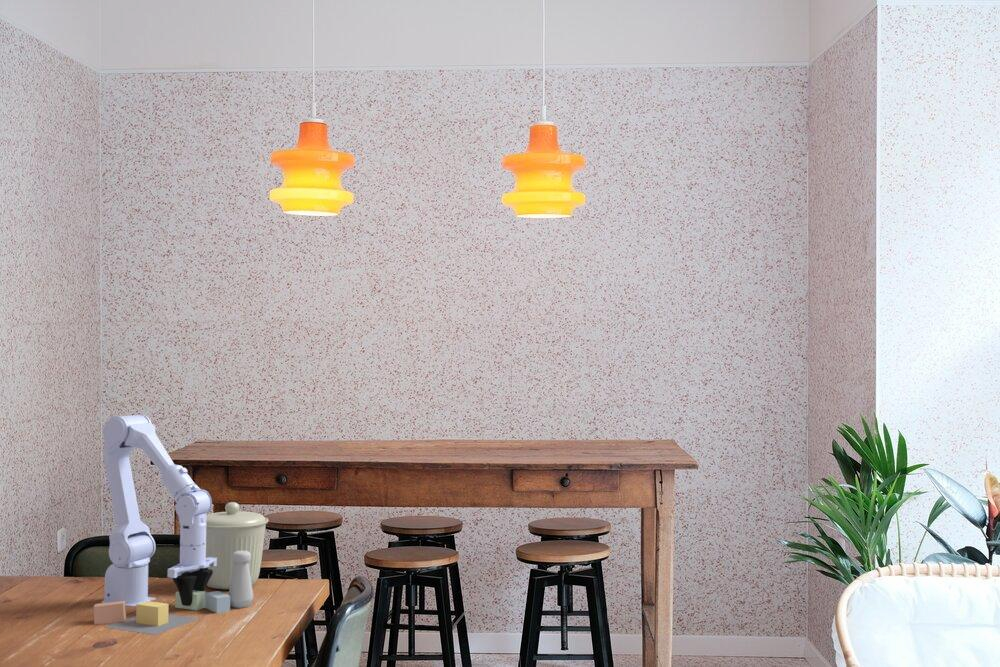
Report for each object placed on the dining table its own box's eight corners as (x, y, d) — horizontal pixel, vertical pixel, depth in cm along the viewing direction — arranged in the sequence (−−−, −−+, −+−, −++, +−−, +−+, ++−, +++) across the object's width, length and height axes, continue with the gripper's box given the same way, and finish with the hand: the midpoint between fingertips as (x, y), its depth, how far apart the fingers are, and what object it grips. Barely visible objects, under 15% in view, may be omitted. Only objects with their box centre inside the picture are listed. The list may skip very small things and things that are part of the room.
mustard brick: (136, 622, 215) (136, 604, 215) (146, 619, 218) (147, 600, 218) (157, 626, 213) (158, 607, 213) (168, 622, 216) (168, 603, 216)
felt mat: (103, 629, 212) (103, 626, 212) (149, 613, 225) (149, 611, 225) (154, 637, 206) (154, 634, 206) (199, 620, 219) (199, 618, 219)
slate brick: (205, 610, 228) (205, 593, 228) (218, 608, 230) (218, 591, 231) (216, 616, 224) (217, 598, 224) (229, 613, 226) (230, 596, 226)
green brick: (175, 609, 228) (175, 592, 229) (184, 606, 231) (184, 589, 232) (196, 612, 226) (197, 594, 226) (205, 609, 229) (205, 591, 229)
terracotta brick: (94, 625, 214) (93, 606, 214) (96, 622, 217) (95, 603, 217) (124, 621, 215) (123, 603, 216) (126, 618, 218) (124, 600, 219)
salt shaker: (246, 611, 227) (247, 554, 228) (223, 610, 228) (224, 553, 229) (257, 605, 233) (258, 549, 233) (234, 603, 234) (235, 548, 234)
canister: (229, 597, 240) (230, 510, 241) (178, 587, 250) (179, 503, 250) (282, 583, 255) (283, 501, 256) (232, 574, 265) (234, 495, 265)
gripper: (185, 551, 221) (184, 612, 220) (227, 540, 234) (226, 598, 234) (160, 548, 223) (159, 609, 223) (203, 537, 237) (202, 594, 237)
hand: (192, 603), depth 229 cm, fingers closed on green brick, 3 cm apart
